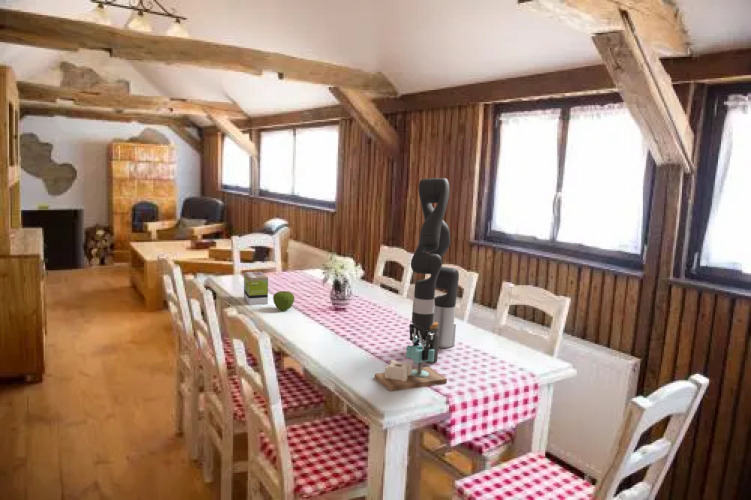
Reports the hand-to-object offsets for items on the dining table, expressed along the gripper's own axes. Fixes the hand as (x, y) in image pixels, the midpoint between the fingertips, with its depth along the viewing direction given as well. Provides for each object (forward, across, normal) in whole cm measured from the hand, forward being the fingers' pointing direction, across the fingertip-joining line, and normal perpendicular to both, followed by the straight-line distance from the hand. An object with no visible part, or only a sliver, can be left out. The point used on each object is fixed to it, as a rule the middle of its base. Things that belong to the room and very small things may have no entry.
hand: (420, 356), depth 185 cm
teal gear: (+1, 0, 0) cm, 1 cm away
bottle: (+8, +14, -13) cm, 21 cm away
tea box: (+8, +120, +30) cm, 124 cm away
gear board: (+8, -1, +4) cm, 9 cm away
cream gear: (+6, 0, +8) cm, 10 cm away
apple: (+8, +99, +21) cm, 102 cm away
